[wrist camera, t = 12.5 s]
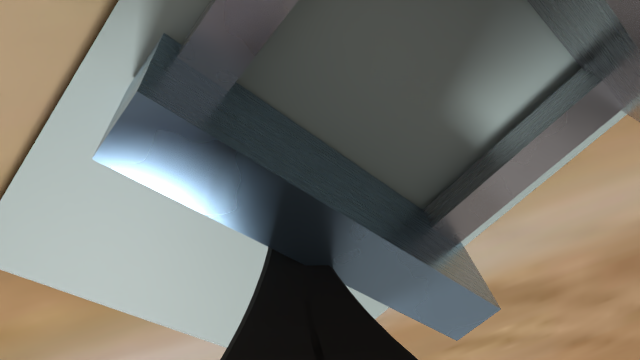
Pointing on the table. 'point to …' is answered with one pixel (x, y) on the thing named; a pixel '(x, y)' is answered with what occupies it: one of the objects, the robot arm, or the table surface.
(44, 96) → the table surface
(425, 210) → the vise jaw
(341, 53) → the vise
